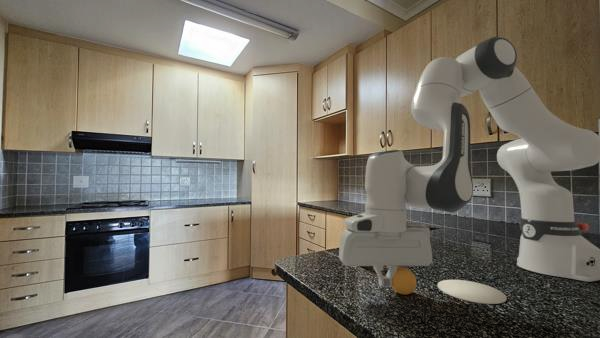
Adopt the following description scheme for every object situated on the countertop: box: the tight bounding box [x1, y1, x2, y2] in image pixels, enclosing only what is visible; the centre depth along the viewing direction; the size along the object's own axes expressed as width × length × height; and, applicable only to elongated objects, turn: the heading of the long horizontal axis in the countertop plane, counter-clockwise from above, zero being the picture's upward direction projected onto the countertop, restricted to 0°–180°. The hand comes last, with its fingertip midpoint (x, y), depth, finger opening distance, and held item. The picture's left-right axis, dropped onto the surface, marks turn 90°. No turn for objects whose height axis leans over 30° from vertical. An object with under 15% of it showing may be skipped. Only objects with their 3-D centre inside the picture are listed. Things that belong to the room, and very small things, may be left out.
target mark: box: [437, 279, 508, 305], centre depth 59 cm, size 13×13×1 cm
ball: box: [390, 266, 417, 296], centre depth 57 cm, size 6×6×6 cm
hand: (385, 285), depth 57 cm, fingers closed
